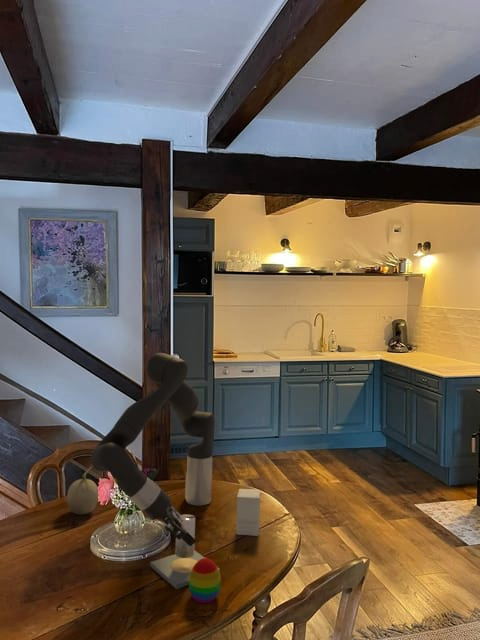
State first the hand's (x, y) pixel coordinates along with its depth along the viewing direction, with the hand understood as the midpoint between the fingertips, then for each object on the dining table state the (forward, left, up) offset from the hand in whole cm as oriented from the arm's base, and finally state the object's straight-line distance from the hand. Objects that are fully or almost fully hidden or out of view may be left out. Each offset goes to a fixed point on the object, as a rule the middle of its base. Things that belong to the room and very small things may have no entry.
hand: (191, 538), depth 150 cm
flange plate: (-1, -2, -9) cm, 9 cm away
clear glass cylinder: (-1, -2, -4) cm, 5 cm away
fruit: (-52, -11, -9) cm, 54 cm away
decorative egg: (+13, -5, -9) cm, 17 cm away
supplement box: (-10, +28, -9) cm, 32 cm away
